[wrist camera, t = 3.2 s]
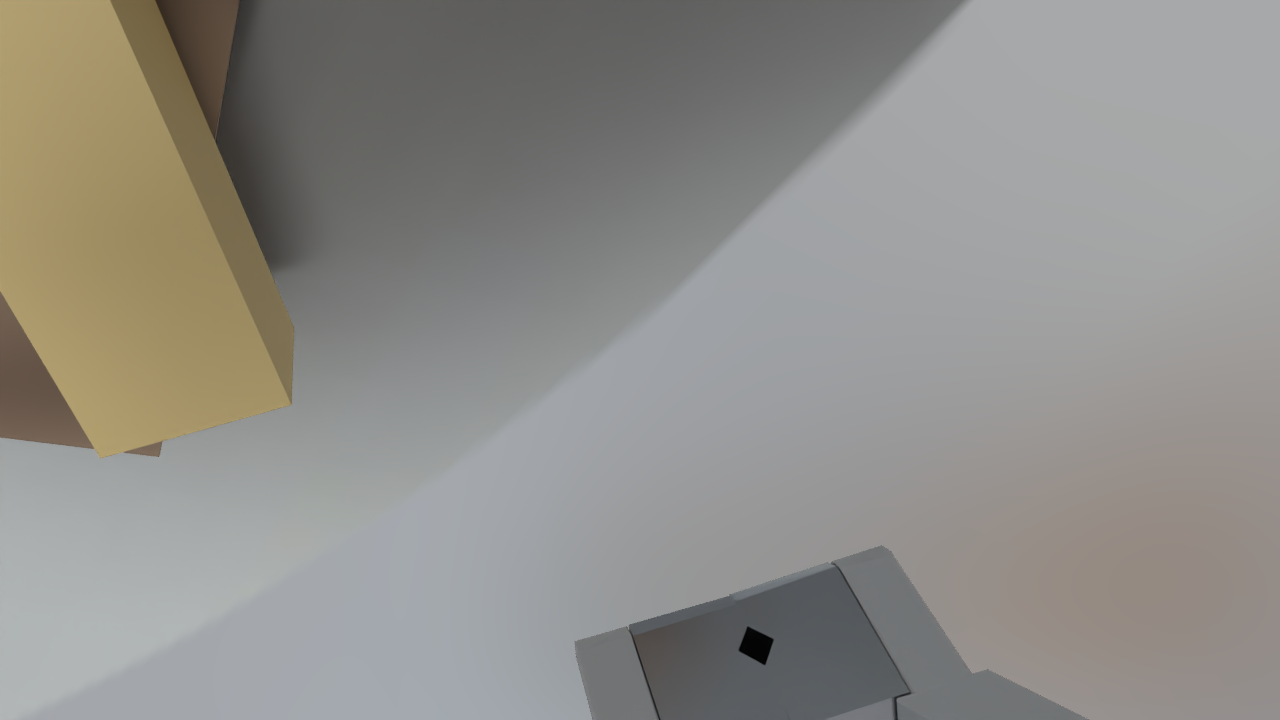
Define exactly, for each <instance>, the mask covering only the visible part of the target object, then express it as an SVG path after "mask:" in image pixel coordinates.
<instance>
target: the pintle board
mask: <svg viewBox="0 0 1280 720" xmlns="http://www.w3.org/2000/svg"><path fill="white" fill-rule="evenodd" d="M155 1H156V4H157V6H158V8H159V11H160V13H161V15H162V18H163V20H164V22H165V25H166V27H167V29H168V32H169V34H170V37H171V39H172V41H173V44H174V46H175V48H176V51H177V53H178V55H179V58H180V60H181V62H182V65H183V67H184V69H185V72H186V74H187V77H188V79H189V81H190V84H191V86H192V88H193V91H194V93H195V95H196V98H197V100H198V102H199V105H200V107H201V110H202V112H203V114H204V117H205V119H206V121H207V124H208V126H209V128H210V131H211V133H212V135H213V138H214V140H215V141H216V136H217V130H218V124H219V119H220V113H221V107H222V101H223V96H224V90H225V84H226V79H227V73H228V67H229V62H230V56H231V50H232V45H233V39H234V33H235V27H236V22H237V16H238V10H239V5H240V0H155ZM0 437H1V438H9V439H18V440H26V441H34V442H42V443H50V444H58V445H66V446H75V447H83V448H91V449H94V447H93V445H92V444H91V442H90V440H89V439H88V437H87V435H86V434H85V432H84V430H83V429H82V427H81V425H80V424H79V422H78V420H77V419H76V417H75V415H74V414H73V412H72V410H71V409H70V407H69V405H68V404H67V402H66V400H65V399H64V397H63V395H62V394H61V392H60V390H59V389H58V387H57V385H56V383H55V382H54V380H53V378H52V377H51V375H50V373H49V372H48V370H47V368H46V367H45V365H44V363H43V362H42V360H41V358H40V357H39V355H38V353H37V352H36V350H35V348H34V347H33V345H32V343H31V342H30V340H29V338H28V337H27V335H26V333H25V332H24V330H23V328H22V327H21V325H20V323H19V322H18V320H17V318H16V317H15V315H14V313H13V312H12V310H11V308H10V307H9V305H8V303H7V301H6V300H5V298H4V296H3V295H2V293H1V291H0ZM161 445H162V441H161V442H157V443H154V444H150V445H147V446H143V447H139V448H136V449H132V450H129V451H125V452H124V453H132V454H140V455H148V456H156V457H159V455H160V450H161Z"/></svg>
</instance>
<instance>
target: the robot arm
mask: <svg viewBox="0 0 1280 720" xmlns="http://www.w3.org/2000/svg"><path fill="white" fill-rule="evenodd" d="M629 631H630V632H629ZM575 650H576V658H577V662H578V666H579V670H580V673H581V677H582V681H583V685H584V689H585V693H586V696H587V700H588V704H589V708H590V712H591V716H592V719H593V720H1089V719H1087V718H1085V717H1083V716H1081V715H1079V714H1077V713H1075V712H1073V711H1071V710H1069V709H1067V708H1065V707H1063V706H1061V705H1059V704H1057V703H1055V702H1053V701H1051V700H1049V699H1047V698H1045V697H1043V696H1041V695H1039V694H1037V693H1035V692H1033V691H1030V690H1028V689H1027V688H1025V687H1023V686H1020V685H1018V684H1017V683H1015V682H1013V681H1011V680H1009V679H1007V678H1004V677H1003V676H1001V675H998V674H996V673H994V672H992V671H990V670H988V669H987V670H984V671H980V672H977V673H973V674H972V673H971V671H970V670H969V668H968V667H967V665H966V664H965V662H964V661H963V659H962V658H961V656H960V655H959V653H958V652H957V650H956V649H955V647H954V646H953V644H952V643H951V641H950V640H949V638H948V637H947V635H946V634H945V632H944V631H943V629H942V628H941V626H940V625H939V623H938V622H937V620H936V618H935V617H934V615H933V614H932V612H931V611H930V609H929V608H928V606H927V605H926V603H925V602H924V600H923V599H922V597H921V596H920V594H919V593H918V591H917V590H916V588H915V587H914V585H913V584H912V582H911V581H910V579H909V578H908V576H907V575H906V573H905V572H904V570H903V569H902V567H901V566H900V564H899V563H898V561H897V560H896V558H895V557H894V555H893V553H892V552H891V551H889V550H888V549H887V548H885V547H884V546H878V547H875V548H872V549H869V550H866V551H863V552H860V553H857V554H853V555H850V556H847V557H844V558H841V559H838V560H835V561H832V562H831V564H830V563H824V564H821V565H818V566H815V567H812V568H809V569H806V570H803V571H800V572H797V573H794V574H791V575H788V576H784V577H781V578H778V579H775V580H772V581H769V582H766V583H763V584H760V585H757V586H754V587H751V588H748V589H745V590H742V591H739V592H736V593H733V594H730V595H729V596H727V597H724V598H720V599H717V600H713V601H710V602H706V603H703V604H699V605H696V606H692V607H689V608H686V609H682V610H679V611H675V612H672V613H668V614H665V615H661V616H658V617H654V618H651V619H648V620H644V621H641V622H637V623H633V624H630V625H629V630H628V627H627V626H626V627H623V628H619V629H616V630H612V631H609V632H606V633H602V634H599V635H596V636H592V637H589V638H585V639H582V640H578V641H575Z"/></svg>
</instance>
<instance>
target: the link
mask: <svg viewBox="0 0 1280 720" xmlns="http://www.w3.org/2000/svg"><path fill="white" fill-rule="evenodd" d="M0 291H1V293H2V295H3V296H4V298H5V300H6V301H7V303H8V305H9V307H10V308H11V310H12V312H13V313H14V315H15V317H16V318H17V320H18V322H19V323H20V325H21V327H22V328H23V330H24V332H25V333H26V335H27V337H28V338H29V340H30V342H31V343H32V345H33V347H34V348H35V350H36V352H37V353H38V355H39V357H40V358H41V360H42V362H43V363H44V365H45V367H46V368H47V370H48V372H49V373H50V375H51V377H52V378H53V380H54V382H55V383H56V385H57V387H58V389H59V390H60V392H61V394H62V395H63V397H64V399H65V400H66V402H67V404H68V405H69V407H70V409H71V410H72V412H73V414H74V415H75V417H76V419H77V420H78V422H79V424H80V425H81V427H82V429H83V430H84V432H85V434H86V435H87V437H88V439H89V440H90V442H91V444H92V445H93V447H94V449H95V450H96V452H97V454H98V455H99V457H100V458H104V457H107V456H111V455H114V454H118V453H122V452H125V451H129V450H132V449H136V448H139V447H143V446H147V445H150V444H154V443H157V442H161V441H164V440H168V439H172V438H175V437H179V436H182V435H186V434H189V433H193V432H197V431H200V430H204V429H207V428H211V427H215V426H218V425H222V424H225V423H229V422H232V421H236V420H240V419H243V418H247V417H250V416H254V415H257V414H261V413H265V412H268V411H272V410H275V409H279V408H282V407H286V406H290V405H291V404H292V376H293V347H294V326H293V324H292V322H291V319H290V317H289V314H288V312H287V310H286V307H285V305H284V303H283V300H282V298H281V296H280V293H279V291H278V289H277V286H276V284H275V281H274V279H273V277H272V274H271V272H270V270H269V267H268V265H267V263H266V260H265V258H264V256H263V253H262V251H261V248H260V246H259V244H258V241H257V239H256V237H255V234H254V232H253V230H252V227H251V225H250V223H249V220H248V218H247V216H246V213H245V211H244V208H243V206H242V204H241V201H240V199H239V197H238V194H237V192H236V190H235V187H234V185H233V183H232V180H231V178H230V175H229V173H228V171H227V168H226V166H225V164H224V161H223V159H222V157H221V154H220V152H219V150H218V147H217V145H216V143H215V140H214V138H213V135H212V133H211V131H210V128H209V126H208V124H207V121H206V119H205V117H204V114H203V112H202V110H201V107H200V105H199V102H198V100H197V98H196V95H195V93H194V91H193V88H192V86H191V84H190V81H189V79H188V77H187V74H186V72H185V69H184V67H183V65H182V62H181V60H180V58H179V55H178V53H177V51H176V48H175V46H174V44H173V41H172V39H171V37H170V34H169V32H168V29H167V27H166V25H165V22H164V20H163V18H162V15H161V13H160V11H159V8H158V6H157V4H156V1H155V0H0Z"/></svg>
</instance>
